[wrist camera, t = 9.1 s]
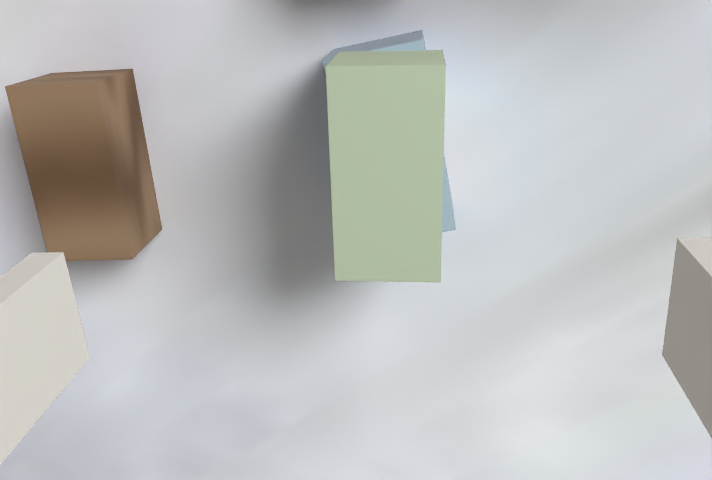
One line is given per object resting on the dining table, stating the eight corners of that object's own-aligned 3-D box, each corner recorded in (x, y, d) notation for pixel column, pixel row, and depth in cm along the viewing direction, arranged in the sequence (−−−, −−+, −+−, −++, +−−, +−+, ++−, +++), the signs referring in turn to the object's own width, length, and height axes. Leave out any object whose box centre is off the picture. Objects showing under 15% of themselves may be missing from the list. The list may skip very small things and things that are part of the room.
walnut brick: (53, 72, 32) (4, 86, 28) (134, 68, 31) (95, 82, 28) (89, 229, 35) (49, 261, 31) (163, 227, 34) (132, 259, 31)
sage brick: (438, 241, 29) (440, 282, 25) (345, 240, 29) (335, 280, 26) (442, 50, 26) (445, 64, 22) (339, 51, 26) (325, 66, 23)
